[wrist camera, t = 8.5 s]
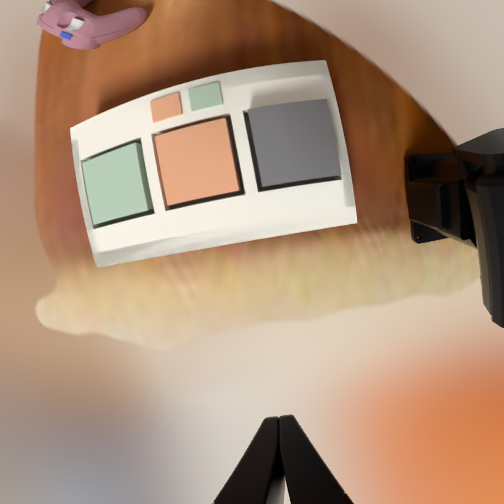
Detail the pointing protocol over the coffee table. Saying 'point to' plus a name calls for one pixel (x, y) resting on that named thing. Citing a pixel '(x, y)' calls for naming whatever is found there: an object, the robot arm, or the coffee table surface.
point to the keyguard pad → (252, 193)
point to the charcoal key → (294, 141)
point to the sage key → (117, 184)
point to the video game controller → (87, 23)
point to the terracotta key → (198, 161)
